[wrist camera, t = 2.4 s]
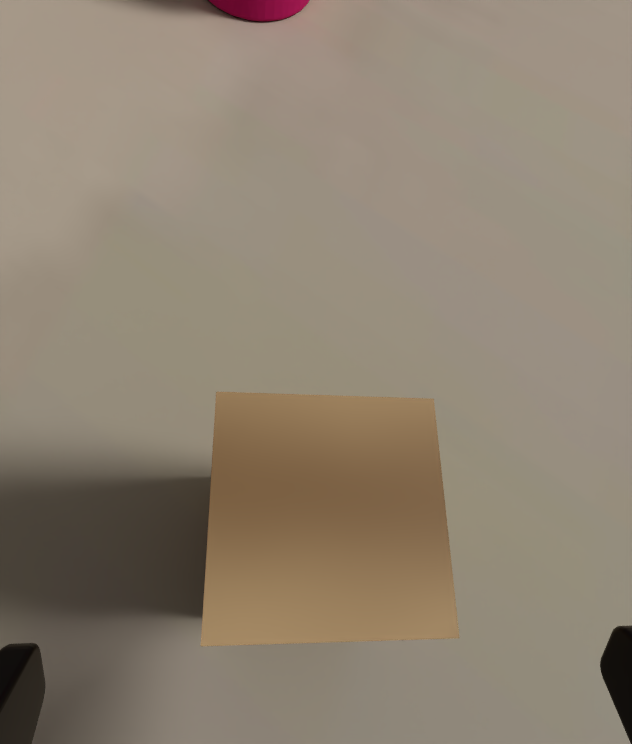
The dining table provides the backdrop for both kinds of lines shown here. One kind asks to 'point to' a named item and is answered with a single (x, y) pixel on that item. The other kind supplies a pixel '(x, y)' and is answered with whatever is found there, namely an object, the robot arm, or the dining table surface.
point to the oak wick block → (326, 522)
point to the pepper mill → (261, 8)
